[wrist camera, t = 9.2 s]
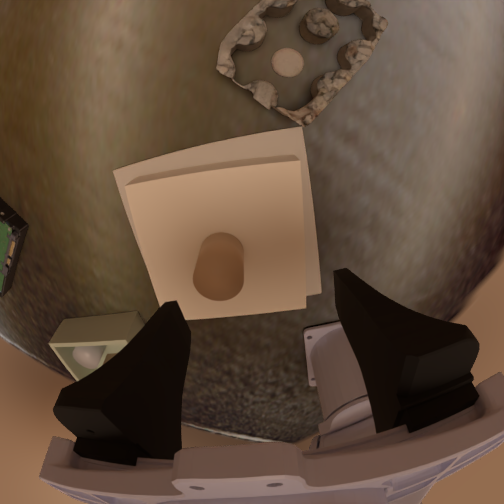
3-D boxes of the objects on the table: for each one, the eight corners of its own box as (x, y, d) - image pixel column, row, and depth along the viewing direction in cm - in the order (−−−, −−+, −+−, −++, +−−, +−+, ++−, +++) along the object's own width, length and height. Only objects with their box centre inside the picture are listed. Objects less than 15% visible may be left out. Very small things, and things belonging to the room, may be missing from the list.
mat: (320, 290, 26) (321, 293, 25) (169, 315, 27) (168, 318, 26) (300, 126, 19) (301, 126, 19) (115, 169, 20) (112, 170, 20)
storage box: (173, 376, 31) (168, 404, 27) (104, 378, 32) (95, 402, 28) (137, 310, 26) (125, 339, 23) (63, 319, 27) (48, 343, 23)
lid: (301, 289, 25) (314, 338, 20) (171, 302, 25) (156, 351, 20) (293, 154, 20) (312, 172, 14) (136, 176, 20) (102, 203, 15)
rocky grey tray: (293, 131, 20) (304, 137, 16) (209, 68, 17) (200, 59, 14) (381, 36, 16) (407, 27, 12) (303, -26, 13) (315, -49, 10)
